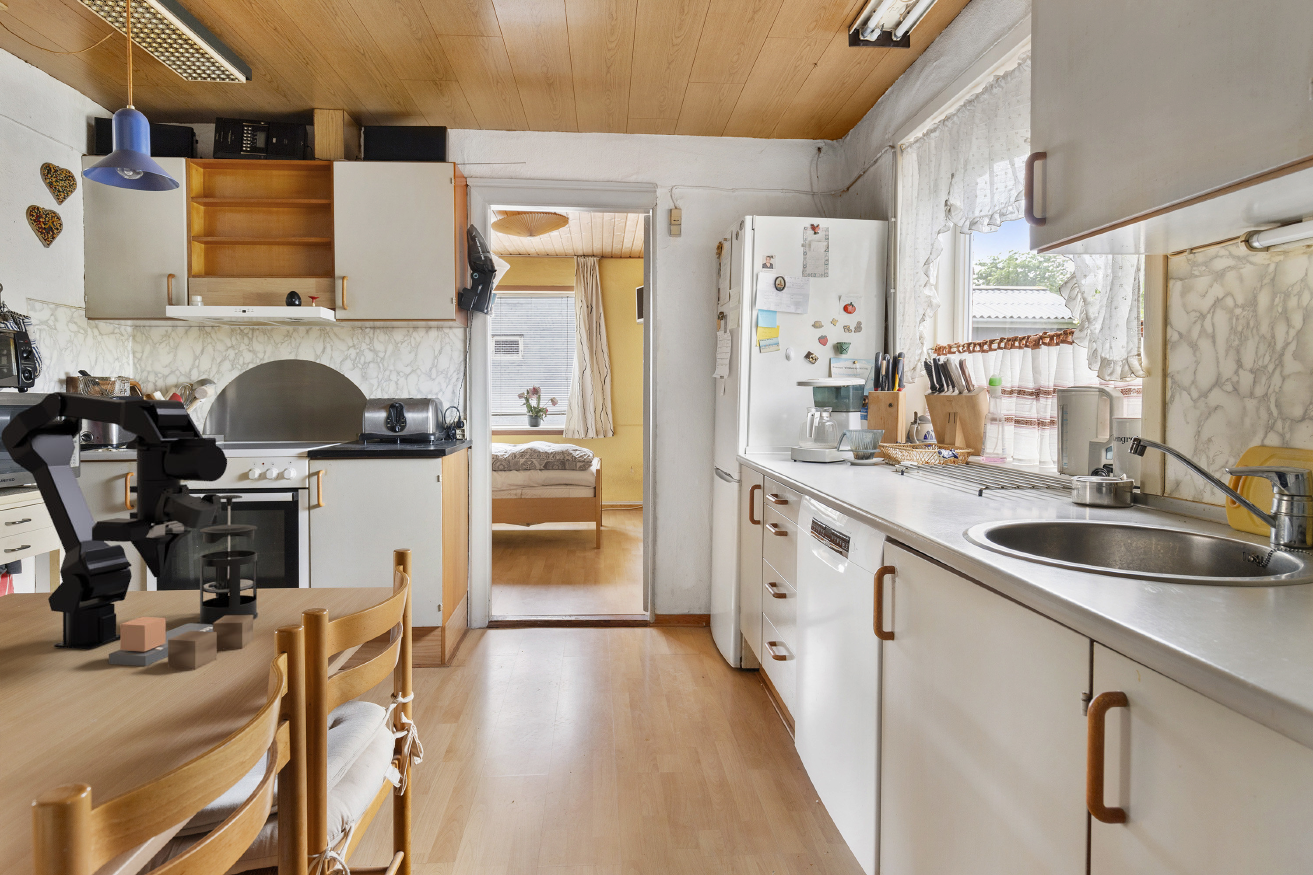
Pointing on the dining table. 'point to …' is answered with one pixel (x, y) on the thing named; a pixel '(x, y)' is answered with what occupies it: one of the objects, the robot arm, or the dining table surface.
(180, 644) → the walnut block near
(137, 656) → the base
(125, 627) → the salmon pink cube
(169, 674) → the dining table surface
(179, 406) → the robot arm
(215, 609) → the french press
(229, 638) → the walnut block far
